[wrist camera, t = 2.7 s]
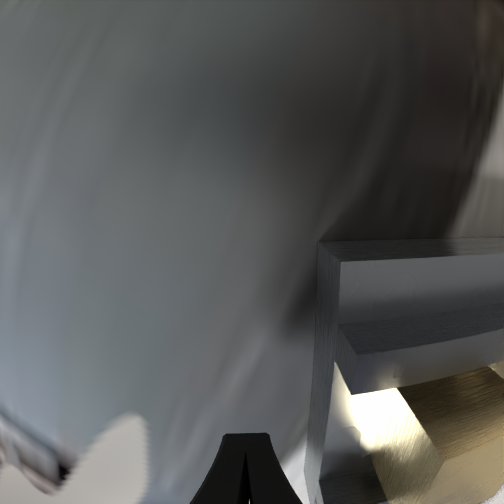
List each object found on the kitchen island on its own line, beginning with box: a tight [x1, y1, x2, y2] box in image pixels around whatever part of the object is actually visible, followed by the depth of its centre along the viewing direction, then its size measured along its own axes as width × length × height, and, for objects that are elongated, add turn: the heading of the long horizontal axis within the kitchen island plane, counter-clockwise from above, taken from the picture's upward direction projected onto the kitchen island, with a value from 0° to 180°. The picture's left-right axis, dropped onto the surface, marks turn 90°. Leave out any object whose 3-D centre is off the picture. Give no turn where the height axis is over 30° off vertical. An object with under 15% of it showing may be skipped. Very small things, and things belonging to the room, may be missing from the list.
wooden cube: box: [371, 366, 504, 504], centre depth 8 cm, size 4×4×4 cm
